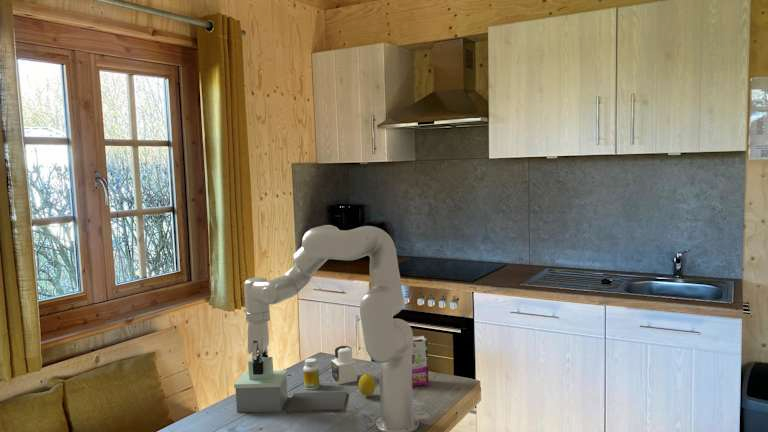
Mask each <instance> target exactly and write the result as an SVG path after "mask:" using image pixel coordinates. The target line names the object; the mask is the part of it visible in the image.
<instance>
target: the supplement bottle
mask: <svg viewBox="0 0 768 432" xmlns="http://www.w3.org/2000/svg"><path fill="white" fill-rule="evenodd" d="M319 369H320V368H319V365H318V364H317V359H316V358H312V357H310V358H306V359H305V360H304V366H303V370H302V371H303V373H302V374H303V388H304V389H306V390H317V389H318V388H320V370H319Z"/></svg>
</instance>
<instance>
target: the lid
mask: <svg viewBox="0 0 768 432" xmlns="http://www.w3.org/2000/svg"><path fill="white" fill-rule="evenodd" d="M273 361H274V360H273V356H268V357H262V362H263V374H261V375H254V374H253V362H252V356H251V357H250V359H249V360H248V361H247V363H248V364H247V366H248V371H247V370H245V371H244V370H243V372H242V373H241V374H240V376H239V378H237V380H236V381H235V383H234V384H233V387H234V389H236V388H259V387H281V385H282V383H283V381H284V379H285V377H286V378H287V375H288V369H285V370H283V369H282V370H281V369H280V370H278V369H276V370H274V362H273Z"/></svg>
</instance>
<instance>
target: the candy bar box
mask: <svg viewBox="0 0 768 432" xmlns="http://www.w3.org/2000/svg"><path fill="white" fill-rule="evenodd" d="M423 386H429V365H428V341H427V338H426V337H425V335H420V336H419V335H417V336H413V350H412V388H413V387H423Z"/></svg>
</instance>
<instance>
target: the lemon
mask: <svg viewBox="0 0 768 432" xmlns="http://www.w3.org/2000/svg"><path fill="white" fill-rule="evenodd" d="M375 389H376V381H375V379H374V377H373V376H372V375H371V374H369V373H368V372H367V373H365V374H363V375H362V376H360V378H359V380H358V390H359V392H360V393H361V395H362V396H365V397H366V398H368V397H370V396H371V395H372V394H374V392H375Z"/></svg>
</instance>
